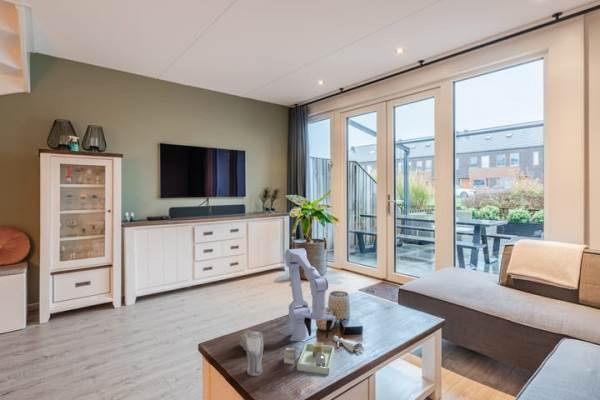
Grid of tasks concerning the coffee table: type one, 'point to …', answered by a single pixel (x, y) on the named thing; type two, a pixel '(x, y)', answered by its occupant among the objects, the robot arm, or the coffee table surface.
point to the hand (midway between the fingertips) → (318, 336)
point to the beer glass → (254, 352)
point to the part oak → (317, 348)
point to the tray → (308, 362)
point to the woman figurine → (349, 344)
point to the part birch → (289, 355)
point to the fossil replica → (244, 338)
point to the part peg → (320, 360)
